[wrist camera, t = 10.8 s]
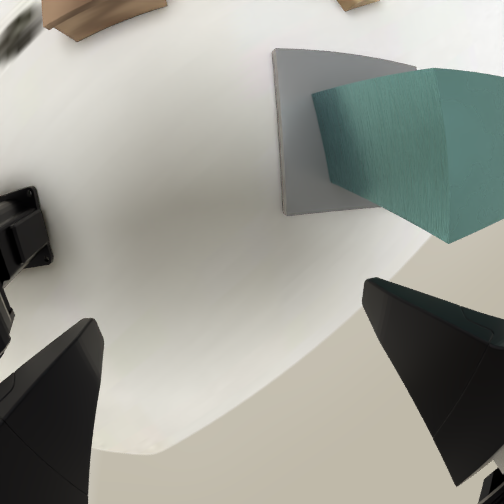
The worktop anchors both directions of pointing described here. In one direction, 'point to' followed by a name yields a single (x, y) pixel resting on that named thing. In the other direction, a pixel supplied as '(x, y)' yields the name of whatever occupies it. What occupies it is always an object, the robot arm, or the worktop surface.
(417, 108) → the tall teal box
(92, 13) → the walnut box
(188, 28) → the worktop surface
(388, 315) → the robot arm
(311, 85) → the plate
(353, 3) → the block
